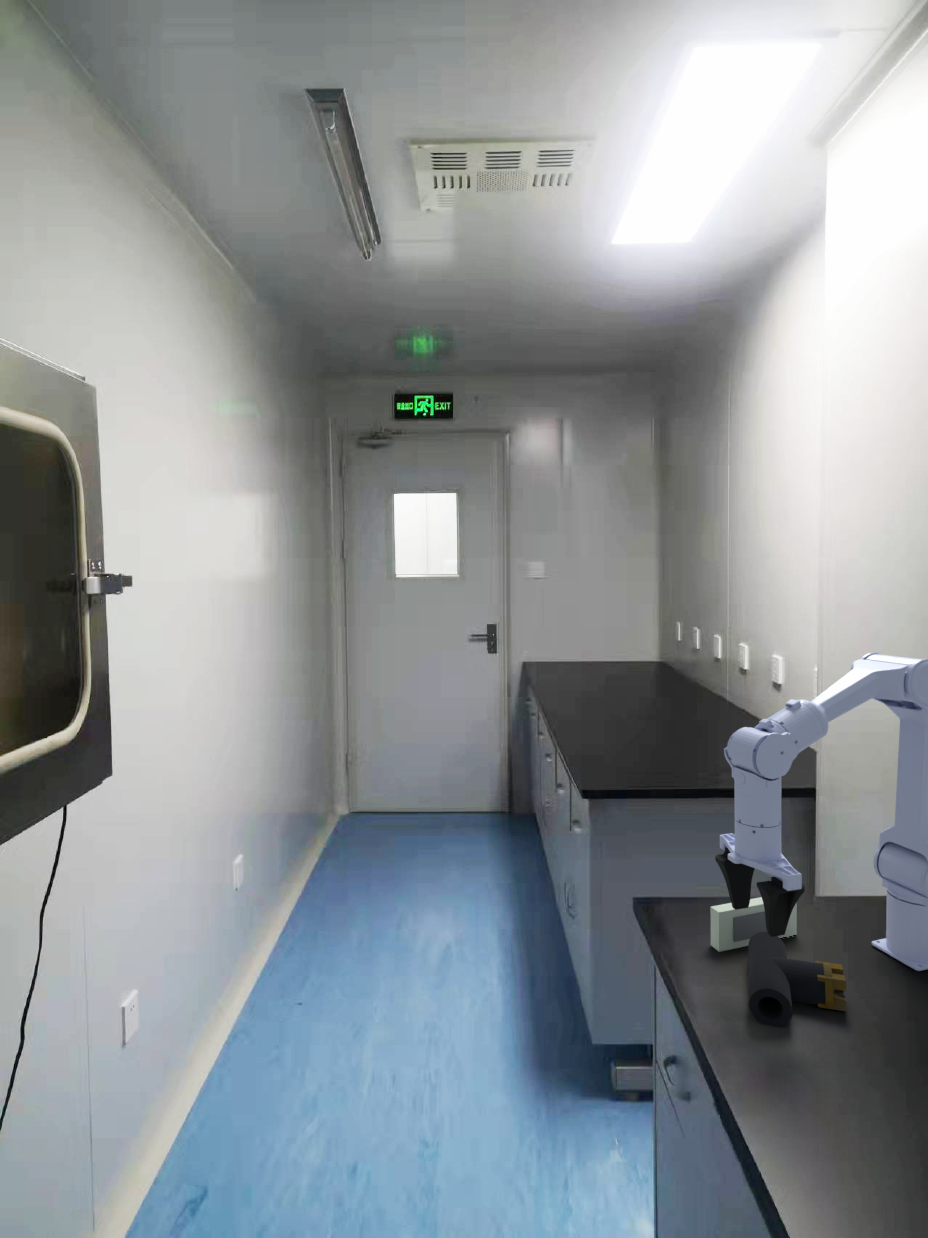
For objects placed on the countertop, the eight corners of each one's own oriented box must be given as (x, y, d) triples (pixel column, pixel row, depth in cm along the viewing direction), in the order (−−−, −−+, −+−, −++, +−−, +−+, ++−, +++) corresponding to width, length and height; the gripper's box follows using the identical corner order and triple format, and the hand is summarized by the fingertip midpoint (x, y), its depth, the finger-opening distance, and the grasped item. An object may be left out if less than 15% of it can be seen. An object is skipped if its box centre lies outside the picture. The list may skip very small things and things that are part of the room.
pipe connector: (836, 939, 100) (851, 1000, 86) (837, 976, 101) (852, 1043, 87) (747, 928, 105) (748, 984, 91) (748, 964, 105) (749, 1025, 91)
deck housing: (787, 929, 113) (787, 892, 113) (798, 936, 111) (798, 898, 111) (710, 945, 109) (710, 906, 109) (720, 952, 107) (720, 913, 107)
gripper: (700, 806, 101) (700, 900, 102) (766, 843, 87) (766, 952, 88) (744, 801, 103) (744, 894, 104) (816, 836, 89) (816, 944, 90)
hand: (757, 920), depth 96 cm, fingers open, 7 cm apart
